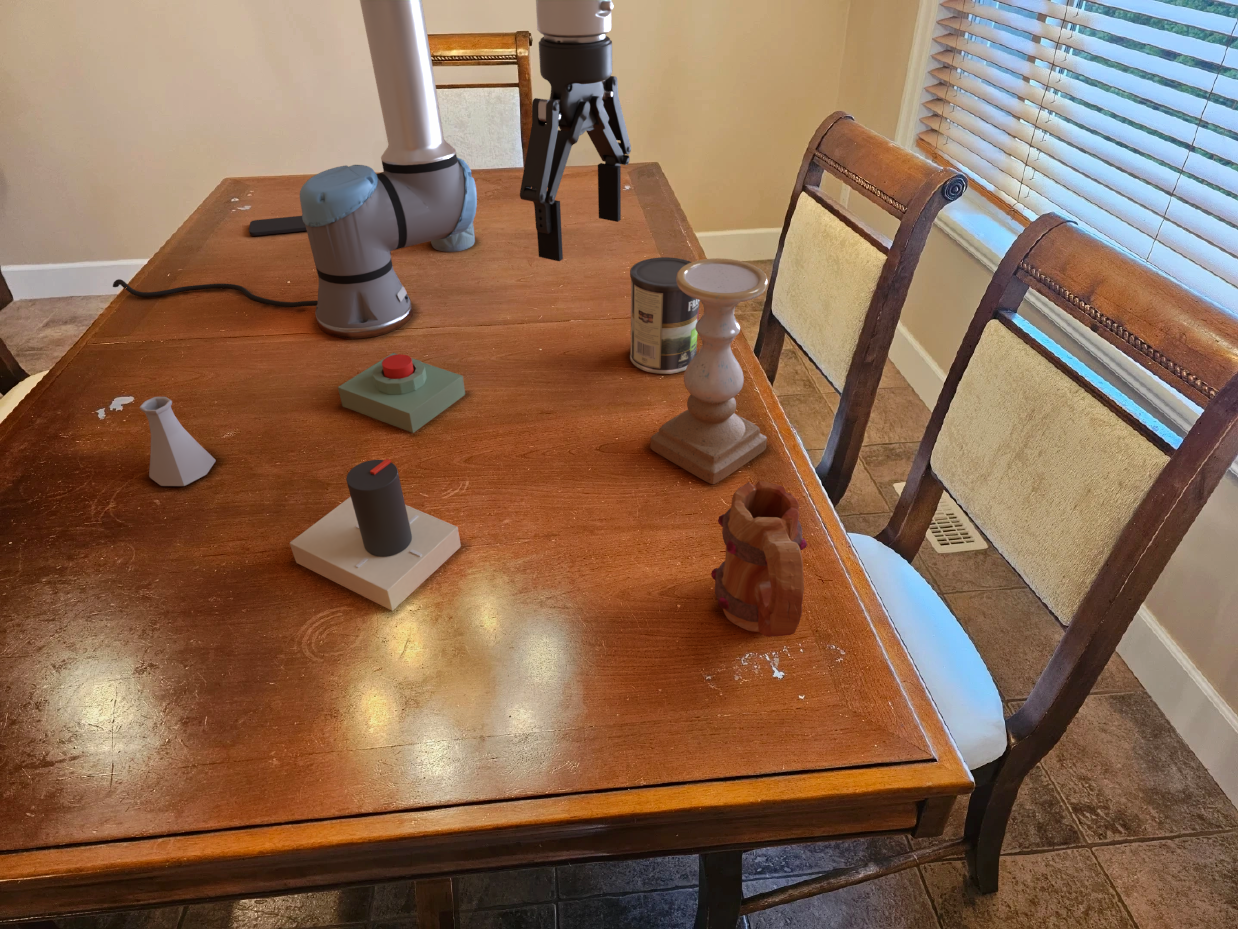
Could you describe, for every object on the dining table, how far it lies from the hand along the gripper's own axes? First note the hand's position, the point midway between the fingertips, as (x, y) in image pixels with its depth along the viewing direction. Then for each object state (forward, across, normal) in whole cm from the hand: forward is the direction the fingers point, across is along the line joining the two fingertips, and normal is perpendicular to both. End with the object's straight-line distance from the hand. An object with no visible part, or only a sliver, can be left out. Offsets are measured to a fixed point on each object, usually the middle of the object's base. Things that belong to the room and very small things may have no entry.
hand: (581, 237), depth 94 cm
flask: (+25, -34, +38) cm, 58 cm away
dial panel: (+25, -34, +6) cm, 43 cm away
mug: (+26, -25, -34) cm, 49 cm away
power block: (+25, -9, +25) cm, 36 cm away
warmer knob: (+22, -35, +4) cm, 41 cm away
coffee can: (+26, +19, -2) cm, 32 cm away
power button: (+21, -9, +25) cm, 33 cm away
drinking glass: (+25, +40, +54) cm, 72 cm away
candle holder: (+26, +1, -18) cm, 31 cm away
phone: (+25, +31, +90) cm, 98 cm away
